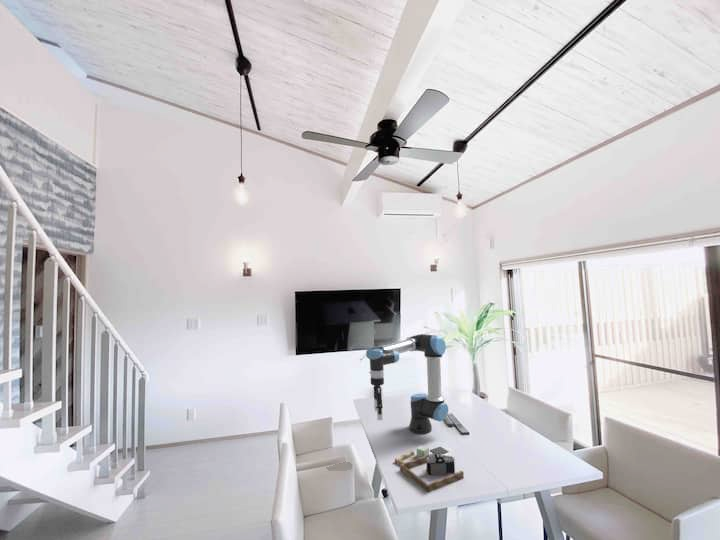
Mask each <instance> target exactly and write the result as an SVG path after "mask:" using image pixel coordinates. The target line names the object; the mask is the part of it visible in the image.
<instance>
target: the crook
mask: <svg viewBox="0 0 720 540" xmlns="http://www.w3.org/2000/svg"><path fill="white" fill-rule="evenodd" d="M413 456H415V451H413V450H411V451H409V452H406V453H405V454H403V455H400V456H399V457H397V458H394V463H395V464H397V465H398V466H400V465H401V464H404V463H406V462H405V461H406V460H407V459H409V458H412V457H413Z"/></svg>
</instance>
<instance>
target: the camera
mask: <svg viewBox="0 0 720 540" xmlns="http://www.w3.org/2000/svg"><path fill="white" fill-rule="evenodd" d="M432 454H433V453H432ZM455 460H456V459H455V458H454V456H452V455H449V454H447V455H445V454H440V453H436V454H433V455H431V456H429V457H427V458H426V460H425V461H426V463H425V464H426V473H427V476H443V475H444V476H445V475H446V476H449V475H452V474H455V473H456V467H455V465H456V463H455Z"/></svg>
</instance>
